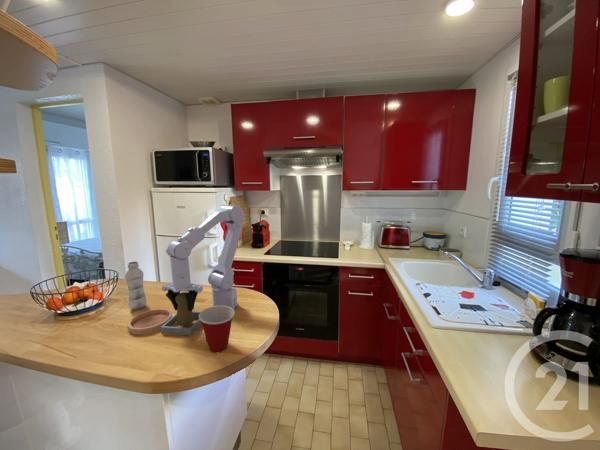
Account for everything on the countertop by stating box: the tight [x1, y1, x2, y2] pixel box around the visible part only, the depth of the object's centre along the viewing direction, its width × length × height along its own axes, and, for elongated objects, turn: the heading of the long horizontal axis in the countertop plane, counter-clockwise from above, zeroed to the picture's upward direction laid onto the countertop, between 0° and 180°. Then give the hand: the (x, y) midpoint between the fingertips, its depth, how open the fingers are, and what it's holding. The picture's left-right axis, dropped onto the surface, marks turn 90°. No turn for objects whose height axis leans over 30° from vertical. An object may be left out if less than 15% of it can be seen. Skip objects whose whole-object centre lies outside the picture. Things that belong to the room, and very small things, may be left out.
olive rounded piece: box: [175, 291, 195, 327], centre depth 88 cm, size 6×6×11 cm
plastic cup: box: [199, 306, 236, 354], centre depth 76 cm, size 11×11×12 cm
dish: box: [127, 308, 173, 336], centre depth 90 cm, size 14×14×2 cm
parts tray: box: [160, 310, 202, 337], centre depth 89 cm, size 11×11×2 cm
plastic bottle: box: [124, 261, 148, 311], centre depth 100 cm, size 6×7×20 cm
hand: (184, 309), depth 88 cm, fingers closed on olive rounded piece, 5 cm apart
